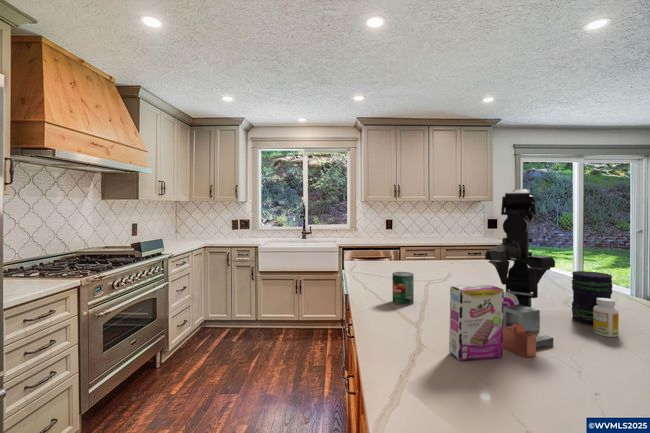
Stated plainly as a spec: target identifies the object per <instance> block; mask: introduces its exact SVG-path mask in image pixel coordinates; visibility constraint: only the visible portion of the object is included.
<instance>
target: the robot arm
mask: <svg viewBox="0 0 650 433" xmlns="http://www.w3.org/2000/svg"><path fill="white" fill-rule="evenodd" d="M500 215H501V216H506V217H507V218H505V220H504V221H503V223H502V230H503V232H504V233H505V234H506V236H505V237H503V238H502V242H501V243H500V244H498V245H496V246H494V247H492V248H490V249H488V250H486V252H485V254H484V259H485V260H487V261H488V263H490V264H492V266H494V267H495V270H496V272H497V275H498V277H499V280H500V282H501V285H505V292H509V293H511V294H514V295H515V296H516V297H517V299H518V302H519V304H520V305H523V306H527V307H531V308H532V299H537V298H538V297H539V296H538V295H539V294H538V293H539V292H538V290H539V289H538V288H539V287H538V286H539V285H538V284H539V283H540V281H541V279H542V277H543V276H544V275H545V273H546V272H547V271H550V270H551V268H552V269H553V268H556V260H555V259H554V258H553V257H552V256H547V255H533V252H531V251H530V250H529V249H530V248H529V247H530V245H529V244H530V243H532V242H533V238H531V237H530V232H529V231H530V227H531V225H532V224H533V222H534V221H535V216H537V199H536V198H535V197H534V195H532V194H531V190H530V189H527V188H521V189H520V188H519V189H514V190H512V191H510V192H509V191H507V192H505V193H504V195H503V196H502V200H501V211H500ZM511 261H513V264H512V266H511V267H510V262H511Z"/></svg>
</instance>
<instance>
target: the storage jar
mask: <svg viewBox="0 0 650 433" xmlns="http://www.w3.org/2000/svg"><path fill="white" fill-rule="evenodd" d="M571 274H572V278H571V290H572V302H571V312H572V313H571V314H572V316H571V317H572V318H571V319H572V320H573V321H574V322H575V323H579V324H581V325H586V326H591V327H593V308H594V306H596V305H598V304H597V298H608V299H612V295H613V280H612V279H613V275H612V274H609V273H605V272H604V273H603V272H596V271H585V270H578V271H577V270H576V271H572V273H571Z"/></svg>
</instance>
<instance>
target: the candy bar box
mask: <svg viewBox="0 0 650 433" xmlns="http://www.w3.org/2000/svg"><path fill="white" fill-rule="evenodd" d="M449 289H450V290H449V291H450V294H449V298H450V299H449V339H448V340H449V348H448V353H449V354H450V355H452V356H453V357H454V358H456V360H458V361H459V362H460V361H461V362H462V361H463V362H464V361H472V360H473V361H475V360H486V359H502V358H503V348H502V339H503V297H504V292H505V291H504V289H503V288H501V287H498V286H495V285H493V284H492V285H491V284H480V285H479V284H476V285H475V284H473V285H450V288H449Z"/></svg>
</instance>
